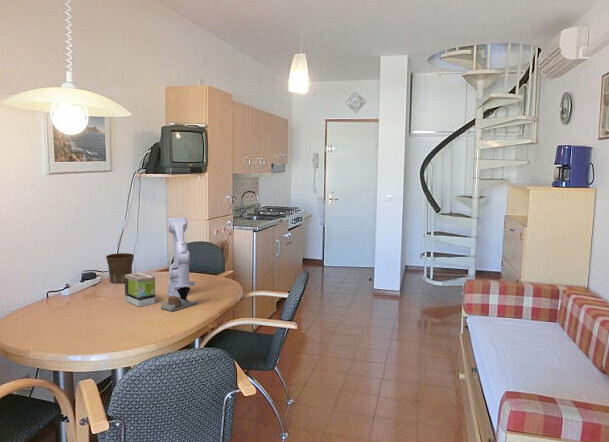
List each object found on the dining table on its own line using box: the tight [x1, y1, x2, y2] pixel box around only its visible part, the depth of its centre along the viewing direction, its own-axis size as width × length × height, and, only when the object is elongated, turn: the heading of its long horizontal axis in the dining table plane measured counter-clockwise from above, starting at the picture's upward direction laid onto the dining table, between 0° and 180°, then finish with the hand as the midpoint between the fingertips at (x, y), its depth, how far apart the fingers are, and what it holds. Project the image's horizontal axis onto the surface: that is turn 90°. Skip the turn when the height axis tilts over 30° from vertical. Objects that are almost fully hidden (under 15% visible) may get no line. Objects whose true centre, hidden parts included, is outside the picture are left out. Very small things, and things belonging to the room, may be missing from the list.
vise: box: [160, 298, 198, 313], centre depth 246 cm, size 8×17×3 cm, turn 146°
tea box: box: [124, 271, 156, 307], centre depth 252 cm, size 15×10×15 cm
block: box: [167, 296, 180, 308], centre depth 243 cm, size 4×4×5 cm
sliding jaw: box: [179, 297, 186, 306], centre depth 247 cm, size 6×2×3 cm, turn 56°
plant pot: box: [105, 252, 135, 285], centre depth 293 cm, size 16×16×16 cm
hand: (183, 301), depth 249 cm, fingers closed
